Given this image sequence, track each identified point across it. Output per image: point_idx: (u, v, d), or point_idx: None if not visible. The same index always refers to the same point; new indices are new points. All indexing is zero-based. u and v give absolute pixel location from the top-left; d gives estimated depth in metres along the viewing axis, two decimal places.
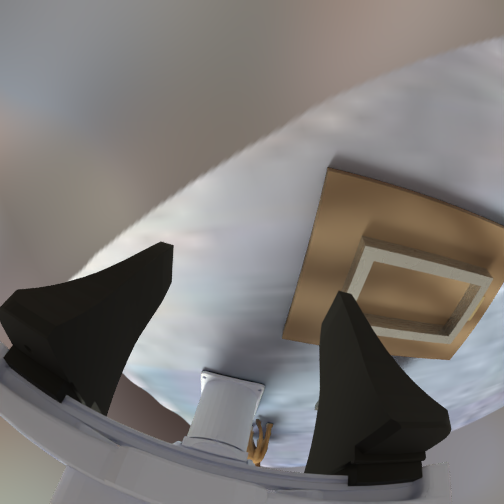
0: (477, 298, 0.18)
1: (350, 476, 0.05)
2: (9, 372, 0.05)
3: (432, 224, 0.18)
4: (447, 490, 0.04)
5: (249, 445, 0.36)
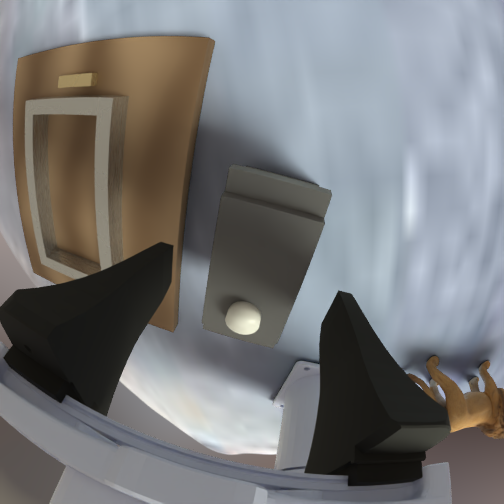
0: (44, 107, 0.12)
1: (350, 476, 0.05)
2: (9, 372, 0.05)
3: (27, 193, 0.17)
4: (447, 490, 0.04)
5: None
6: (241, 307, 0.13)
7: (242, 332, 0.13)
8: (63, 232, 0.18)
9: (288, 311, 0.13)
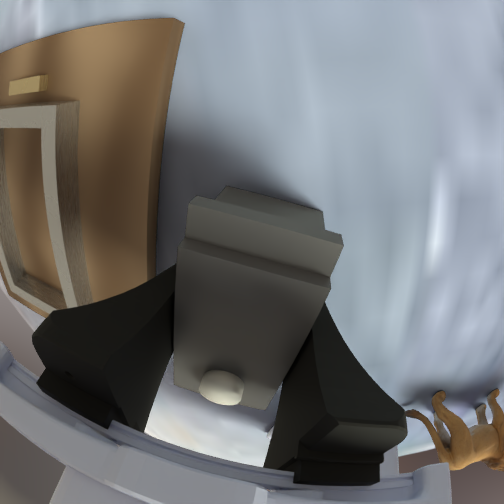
0: None
1: (295, 473, 0.05)
2: (9, 372, 0.05)
3: None
4: (447, 490, 0.04)
5: None
6: (217, 379, 0.09)
7: (221, 403, 0.10)
8: (29, 258, 0.15)
9: (278, 383, 0.09)
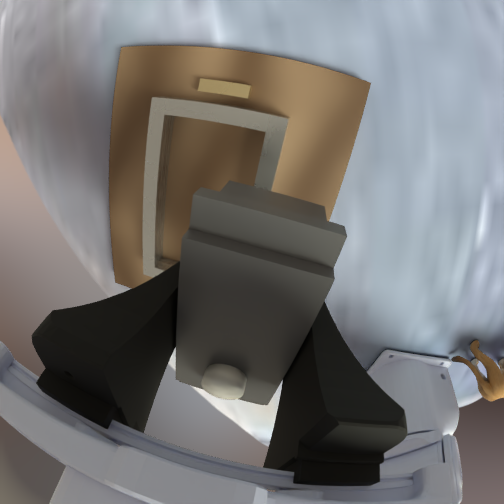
0: (185, 109, 0.14)
1: (295, 473, 0.05)
2: (9, 372, 0.05)
3: (126, 198, 0.19)
4: (447, 490, 0.04)
5: (478, 385, 0.20)
6: (220, 373, 0.09)
7: (223, 397, 0.10)
8: (176, 241, 0.21)
9: (281, 376, 0.09)
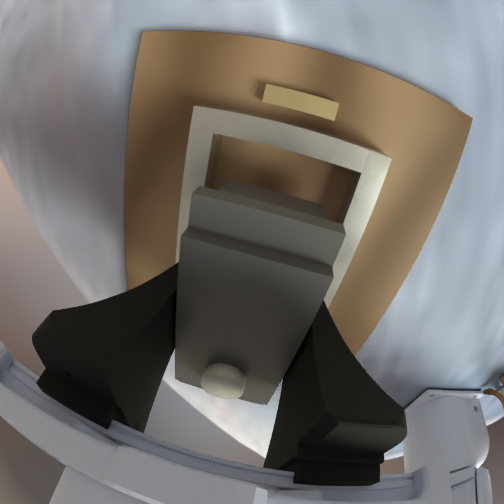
0: (246, 128, 0.10)
1: (295, 473, 0.05)
2: (9, 372, 0.05)
3: (148, 239, 0.15)
4: (447, 490, 0.04)
5: None
6: (219, 372, 0.09)
7: (222, 396, 0.10)
8: None
9: (280, 376, 0.09)
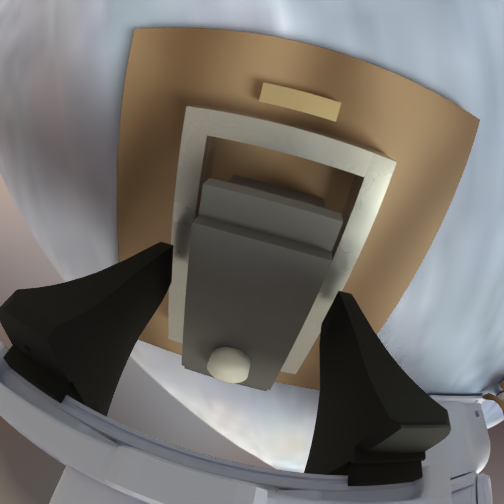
0: (242, 130, 0.10)
1: (350, 476, 0.05)
2: (9, 372, 0.05)
3: (142, 244, 0.15)
4: (447, 490, 0.04)
5: None
6: (225, 355, 0.10)
7: (228, 380, 0.10)
8: None
9: (283, 359, 0.10)
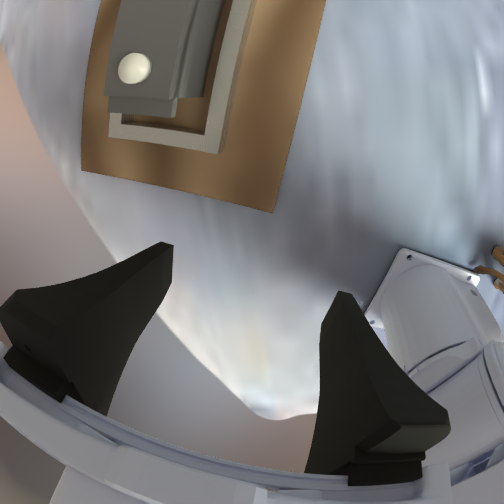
0: None
1: (350, 476, 0.05)
2: (9, 372, 0.05)
3: (103, 65, 0.15)
4: (447, 490, 0.04)
5: None
6: None
7: (131, 80, 0.11)
8: None
9: (175, 52, 0.10)
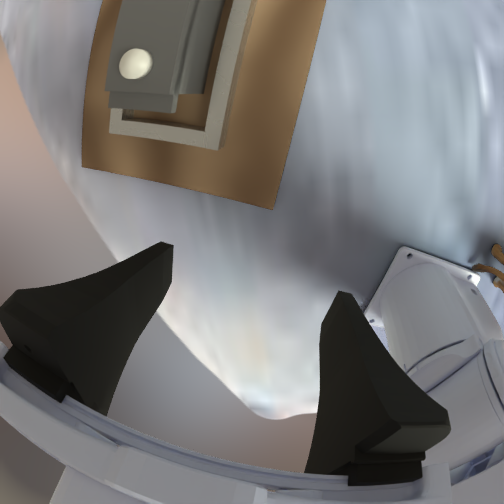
0: None
1: (350, 476, 0.05)
2: (9, 372, 0.05)
3: (105, 62, 0.15)
4: (447, 490, 0.04)
5: None
6: (133, 50, 0.10)
7: (132, 76, 0.10)
8: None
9: (176, 48, 0.10)
